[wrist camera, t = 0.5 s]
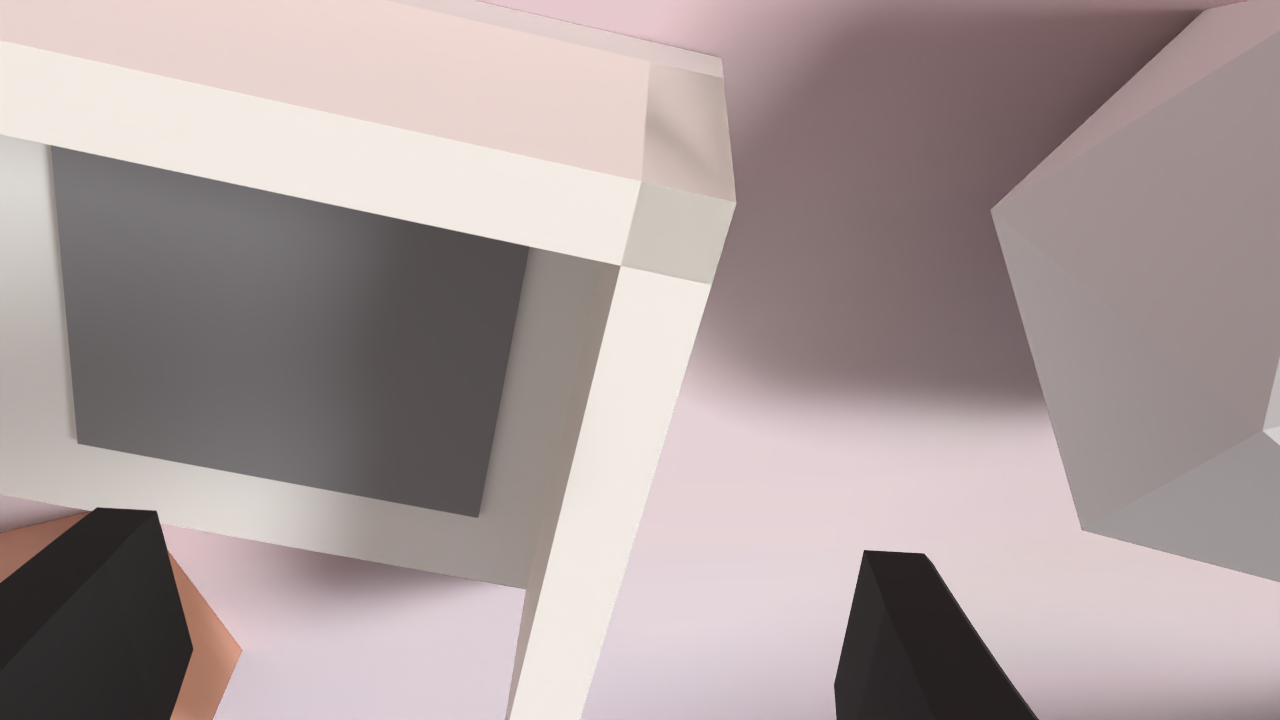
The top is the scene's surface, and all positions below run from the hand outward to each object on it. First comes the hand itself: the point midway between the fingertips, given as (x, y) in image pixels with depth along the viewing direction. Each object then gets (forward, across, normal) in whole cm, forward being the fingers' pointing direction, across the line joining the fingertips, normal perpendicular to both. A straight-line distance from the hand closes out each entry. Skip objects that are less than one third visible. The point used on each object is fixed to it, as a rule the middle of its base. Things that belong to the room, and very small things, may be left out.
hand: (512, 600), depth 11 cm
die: (+10, -11, -1) cm, 15 cm away
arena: (+10, +7, +2) cm, 12 cm away
